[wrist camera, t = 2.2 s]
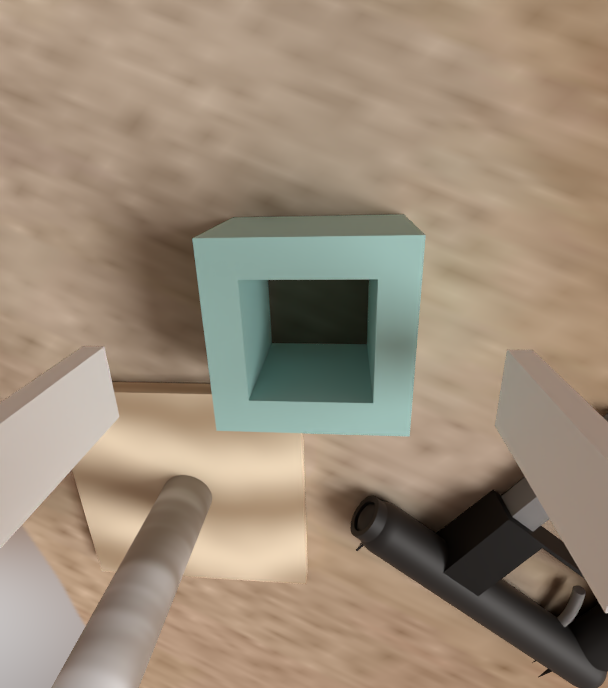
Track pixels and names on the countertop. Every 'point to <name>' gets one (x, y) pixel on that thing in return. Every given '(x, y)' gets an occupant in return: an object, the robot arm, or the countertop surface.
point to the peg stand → (179, 519)
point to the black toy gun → (494, 576)
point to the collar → (310, 359)
